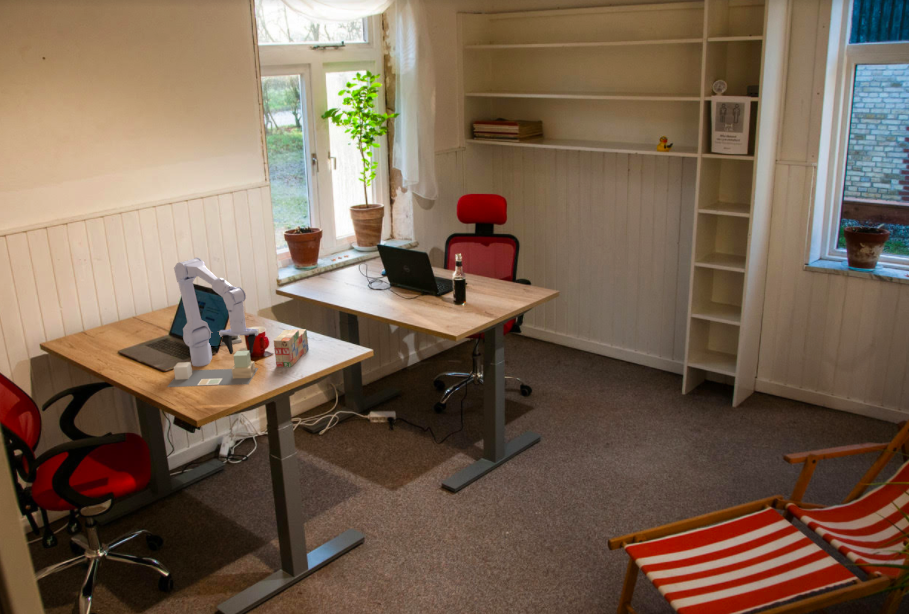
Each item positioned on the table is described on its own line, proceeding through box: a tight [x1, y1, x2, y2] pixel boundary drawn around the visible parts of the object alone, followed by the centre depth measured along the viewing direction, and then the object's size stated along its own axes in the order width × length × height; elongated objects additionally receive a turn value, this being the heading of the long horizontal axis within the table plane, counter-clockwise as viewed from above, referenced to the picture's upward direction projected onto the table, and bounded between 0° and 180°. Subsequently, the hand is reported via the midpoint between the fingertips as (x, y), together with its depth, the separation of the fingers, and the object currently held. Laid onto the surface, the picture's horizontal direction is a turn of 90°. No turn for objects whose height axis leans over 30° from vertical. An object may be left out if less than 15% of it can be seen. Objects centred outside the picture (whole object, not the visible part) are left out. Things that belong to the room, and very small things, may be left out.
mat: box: [166, 367, 259, 388], centre depth 301 cm, size 16×31×1 cm, turn 90°
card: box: [196, 378, 222, 387], centre depth 297 cm, size 6×8×1 cm
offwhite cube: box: [173, 361, 193, 380], centre depth 302 cm, size 5×5×5 cm
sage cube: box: [233, 350, 252, 368], centre depth 301 cm, size 5×5×5 cm
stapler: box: [220, 335, 242, 347], centre depth 341 cm, size 18×5×10 cm
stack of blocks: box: [273, 328, 310, 368], centre depth 317 cm, size 21×6×12 cm, turn 171°
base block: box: [231, 360, 256, 379], centre depth 302 cm, size 7×7×4 cm
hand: (241, 352), depth 300 cm, fingers open, 7 cm apart
